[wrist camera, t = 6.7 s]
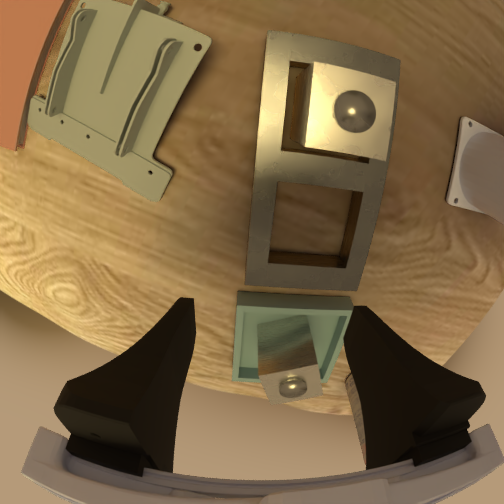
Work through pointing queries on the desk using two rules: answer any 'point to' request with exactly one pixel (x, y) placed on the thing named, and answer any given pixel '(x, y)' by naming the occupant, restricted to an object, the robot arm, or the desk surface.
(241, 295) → the parts tray
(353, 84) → the nut block
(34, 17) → the notebook
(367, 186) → the grey holder frame
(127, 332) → the desk surface
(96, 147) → the metal bracket
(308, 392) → the nut block
